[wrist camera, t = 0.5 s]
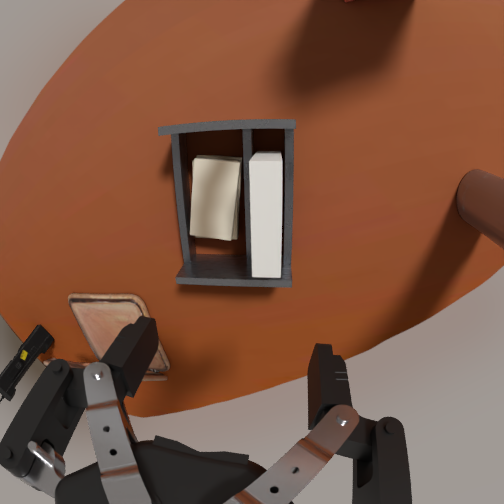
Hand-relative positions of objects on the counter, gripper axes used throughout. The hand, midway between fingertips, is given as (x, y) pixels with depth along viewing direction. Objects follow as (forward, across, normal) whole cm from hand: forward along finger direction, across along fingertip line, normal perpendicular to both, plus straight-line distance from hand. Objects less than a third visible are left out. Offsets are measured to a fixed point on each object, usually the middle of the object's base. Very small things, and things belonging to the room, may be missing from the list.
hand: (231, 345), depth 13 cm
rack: (+27, +4, 0) cm, 27 cm away
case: (+27, +28, +30) cm, 49 cm away
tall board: (+27, 0, -1) cm, 27 cm away
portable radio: (+26, +55, +39) cm, 72 cm away
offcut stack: (+27, +7, 0) cm, 28 cm away
